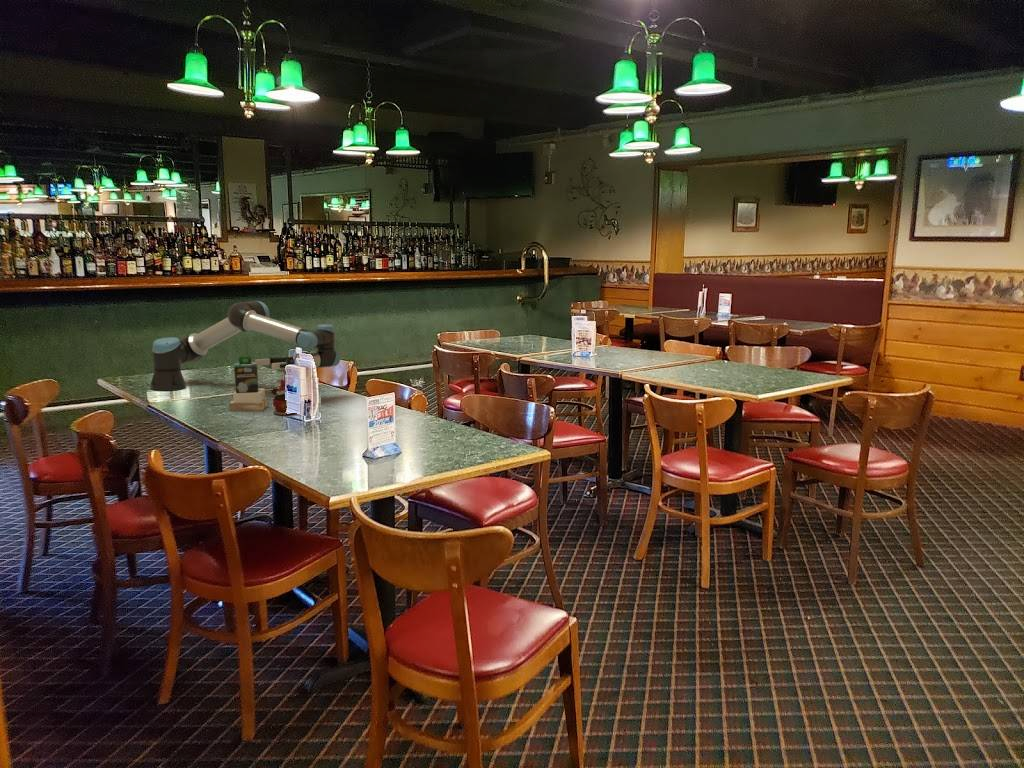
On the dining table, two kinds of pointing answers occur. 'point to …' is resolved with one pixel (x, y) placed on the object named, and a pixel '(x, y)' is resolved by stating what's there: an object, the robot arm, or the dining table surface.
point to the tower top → (249, 396)
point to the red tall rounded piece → (279, 397)
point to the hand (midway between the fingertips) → (263, 364)
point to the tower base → (248, 406)
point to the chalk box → (245, 375)
